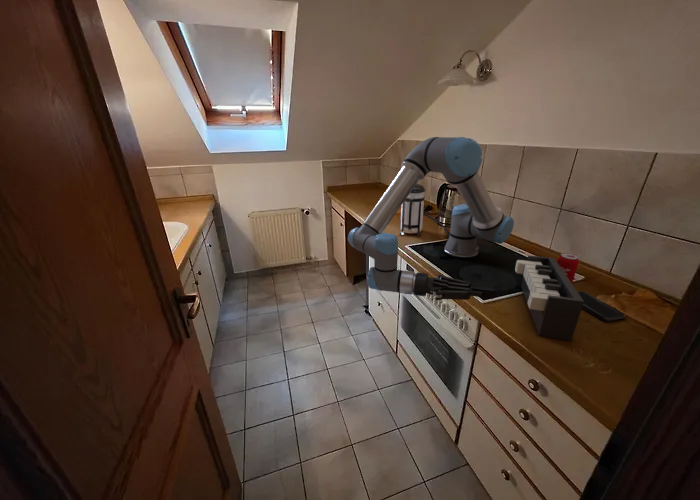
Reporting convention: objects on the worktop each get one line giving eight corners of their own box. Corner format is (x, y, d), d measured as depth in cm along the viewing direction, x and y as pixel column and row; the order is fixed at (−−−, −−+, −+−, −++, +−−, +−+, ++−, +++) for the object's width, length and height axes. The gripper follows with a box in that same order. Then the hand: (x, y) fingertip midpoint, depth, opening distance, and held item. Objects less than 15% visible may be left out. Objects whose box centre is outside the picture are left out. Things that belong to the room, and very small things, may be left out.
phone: (606, 319, 90) (564, 293, 104) (605, 322, 91) (563, 296, 104) (627, 315, 91) (583, 291, 105) (626, 318, 92) (582, 293, 105)
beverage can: (550, 279, 116) (558, 251, 111) (570, 282, 113) (578, 253, 108) (552, 286, 111) (560, 257, 106) (572, 290, 108) (581, 260, 103)
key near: (527, 303, 88) (530, 292, 86) (556, 307, 86) (560, 295, 84) (529, 309, 86) (532, 297, 84) (559, 313, 83) (563, 301, 82)
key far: (514, 269, 108) (517, 259, 107) (538, 272, 106) (540, 262, 104) (516, 273, 106) (518, 263, 104) (540, 275, 103) (542, 265, 102)
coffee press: (391, 231, 172) (392, 179, 161) (414, 227, 178) (417, 176, 167) (408, 240, 158) (411, 184, 146) (432, 235, 164) (437, 180, 152)
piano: (516, 286, 112) (523, 254, 107) (545, 290, 109) (554, 257, 104) (533, 334, 87) (543, 296, 81) (571, 341, 84) (584, 301, 79)
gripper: (416, 284, 104) (489, 293, 97) (411, 303, 93) (494, 316, 86) (417, 264, 101) (493, 273, 94) (412, 282, 90) (498, 293, 83)
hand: (493, 293), depth 90 cm, fingers closed
